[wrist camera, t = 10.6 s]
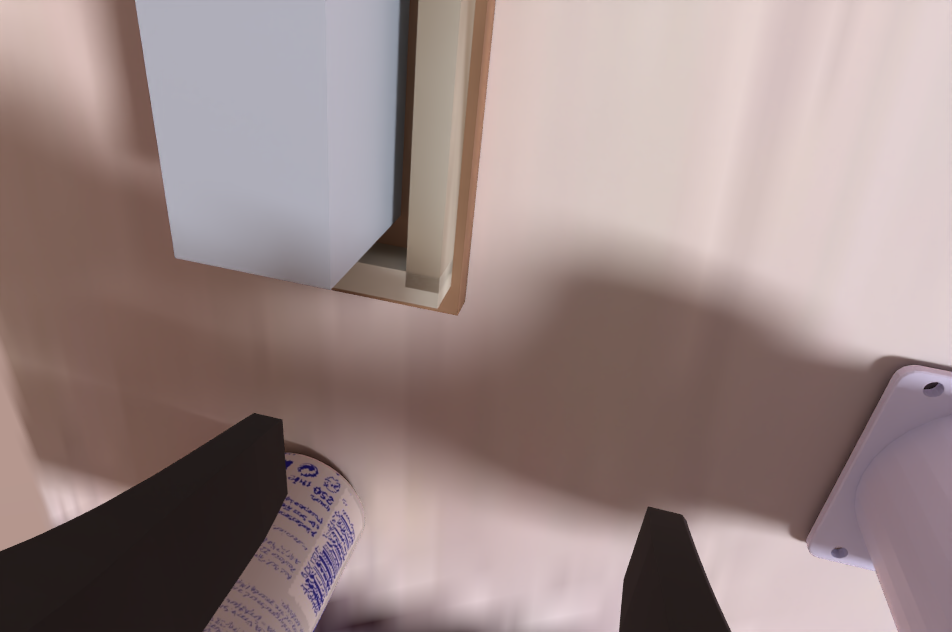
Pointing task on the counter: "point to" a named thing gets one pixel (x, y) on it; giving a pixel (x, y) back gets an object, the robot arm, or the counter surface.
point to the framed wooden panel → (434, 161)
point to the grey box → (278, 129)
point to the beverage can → (296, 555)
